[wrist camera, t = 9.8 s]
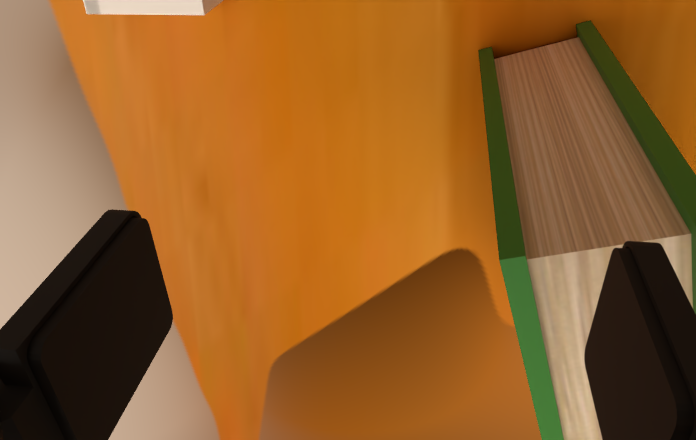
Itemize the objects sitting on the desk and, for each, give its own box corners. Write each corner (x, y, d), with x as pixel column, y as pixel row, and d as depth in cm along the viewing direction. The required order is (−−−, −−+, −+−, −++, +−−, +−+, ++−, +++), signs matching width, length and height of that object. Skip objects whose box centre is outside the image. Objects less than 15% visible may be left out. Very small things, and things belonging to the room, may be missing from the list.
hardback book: (478, 50, 41) (499, 260, 21) (590, 20, 39) (728, 223, 19) (520, 248, 50) (562, 526, 30) (613, 233, 48) (725, 522, 28)
